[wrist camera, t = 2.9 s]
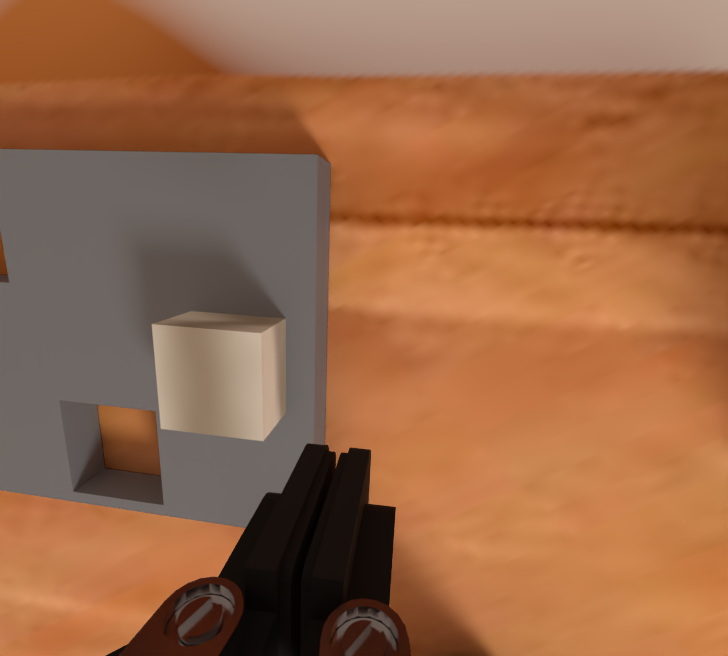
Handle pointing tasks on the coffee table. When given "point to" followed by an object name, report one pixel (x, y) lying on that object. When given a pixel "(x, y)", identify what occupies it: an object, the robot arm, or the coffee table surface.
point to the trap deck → (153, 315)
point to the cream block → (221, 373)
